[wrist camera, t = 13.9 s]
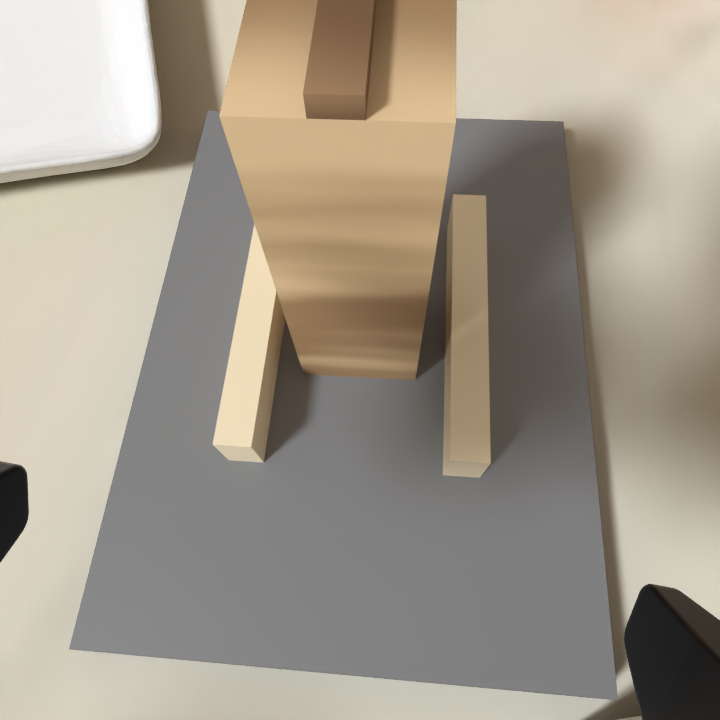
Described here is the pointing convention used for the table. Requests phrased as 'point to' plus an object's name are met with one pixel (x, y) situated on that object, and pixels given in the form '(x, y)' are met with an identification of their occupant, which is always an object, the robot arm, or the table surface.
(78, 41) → the salad plate
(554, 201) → the groove board
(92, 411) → the table surface
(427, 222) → the wooden board
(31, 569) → the table surface
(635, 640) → the robot arm
